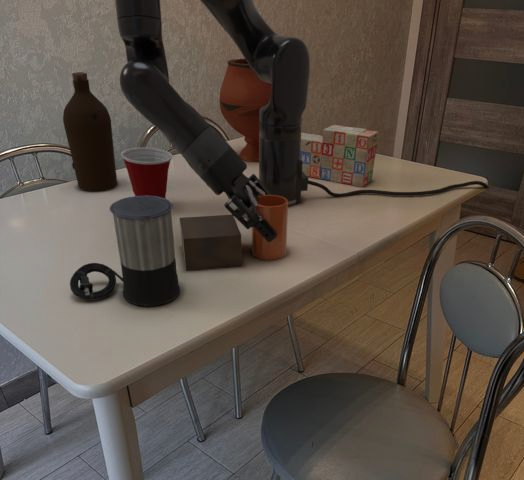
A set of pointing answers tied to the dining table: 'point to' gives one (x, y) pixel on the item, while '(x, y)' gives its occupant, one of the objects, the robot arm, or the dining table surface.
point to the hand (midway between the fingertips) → (277, 231)
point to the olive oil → (89, 138)
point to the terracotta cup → (276, 216)
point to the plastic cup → (147, 170)
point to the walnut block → (210, 242)
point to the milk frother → (138, 254)
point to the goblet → (244, 104)
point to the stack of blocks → (340, 155)
